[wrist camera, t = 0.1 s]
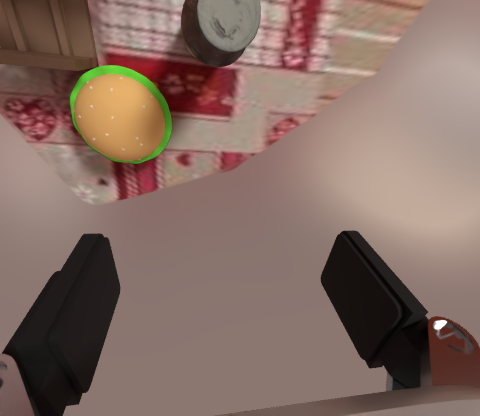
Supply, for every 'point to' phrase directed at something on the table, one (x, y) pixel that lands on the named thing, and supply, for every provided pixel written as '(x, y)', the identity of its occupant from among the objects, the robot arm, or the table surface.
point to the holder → (47, 34)
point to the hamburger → (121, 114)
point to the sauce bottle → (219, 29)
